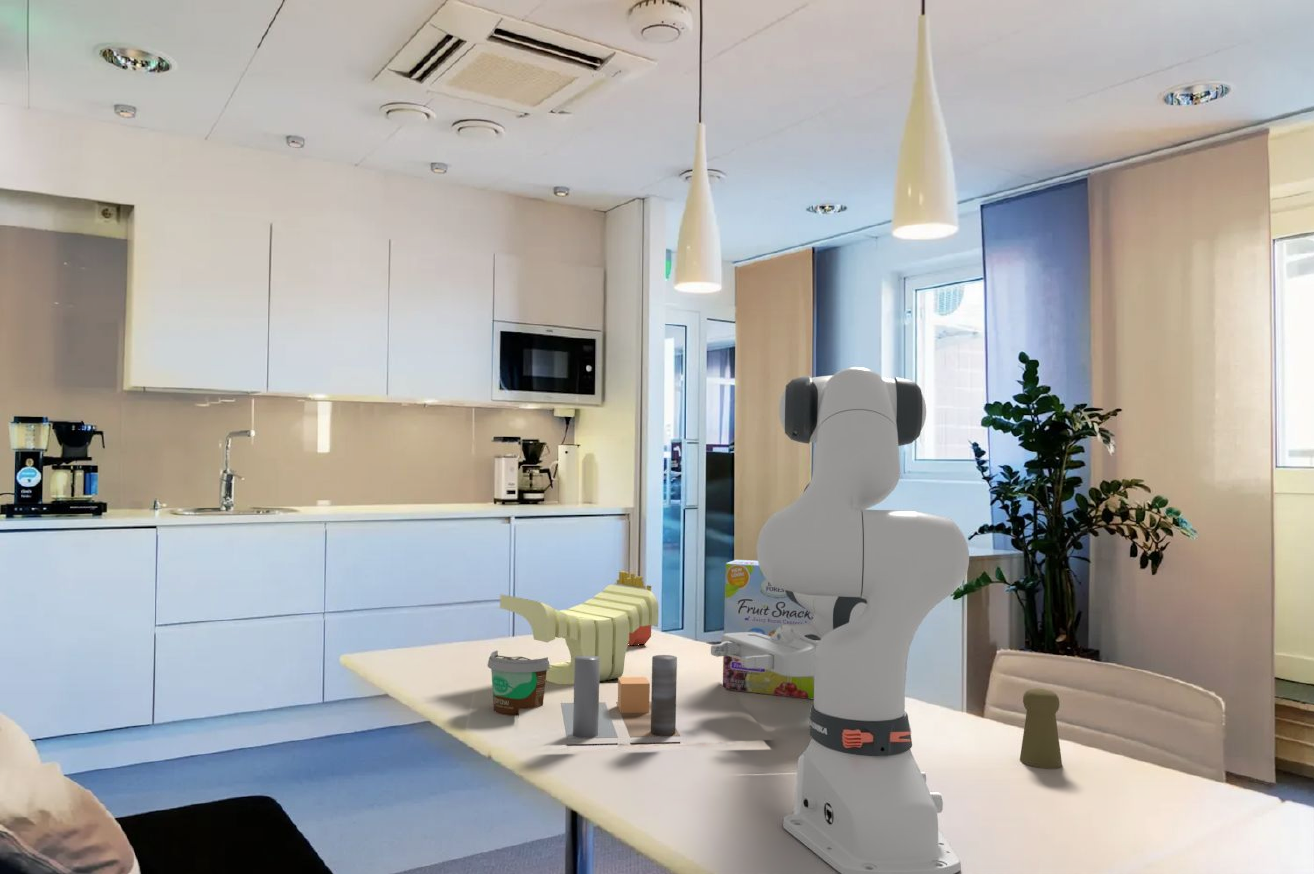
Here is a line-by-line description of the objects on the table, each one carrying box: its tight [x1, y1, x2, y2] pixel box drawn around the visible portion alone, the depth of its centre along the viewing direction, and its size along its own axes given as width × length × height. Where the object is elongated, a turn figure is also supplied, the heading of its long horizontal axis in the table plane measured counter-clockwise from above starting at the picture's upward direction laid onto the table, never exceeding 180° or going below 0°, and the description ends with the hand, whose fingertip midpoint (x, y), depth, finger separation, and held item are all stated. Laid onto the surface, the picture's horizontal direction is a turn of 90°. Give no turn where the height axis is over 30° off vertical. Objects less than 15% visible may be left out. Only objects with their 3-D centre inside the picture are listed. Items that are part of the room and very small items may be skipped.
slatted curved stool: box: [499, 584, 659, 685], centre depth 189 cm, size 30×16×18 cm, turn 135°
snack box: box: [722, 559, 814, 700], centre depth 181 cm, size 22×9×26 cm, turn 71°
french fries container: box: [614, 570, 652, 646], centre depth 230 cm, size 5×11×18 cm, turn 36°
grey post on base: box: [560, 656, 619, 747], centre depth 152 cm, size 22×8×13 cm, turn 9°
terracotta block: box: [617, 676, 651, 714], centre depth 160 cm, size 5×5×5 cm
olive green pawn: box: [1019, 688, 1063, 770], centre depth 139 cm, size 6×6×11 cm
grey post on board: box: [616, 654, 681, 746], centre depth 154 cm, size 22×8×13 cm, turn 9°
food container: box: [487, 650, 550, 717], centre depth 160 cm, size 12×6×10 cm, turn 62°
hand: (727, 656), depth 152 cm, fingers open, 8 cm apart
